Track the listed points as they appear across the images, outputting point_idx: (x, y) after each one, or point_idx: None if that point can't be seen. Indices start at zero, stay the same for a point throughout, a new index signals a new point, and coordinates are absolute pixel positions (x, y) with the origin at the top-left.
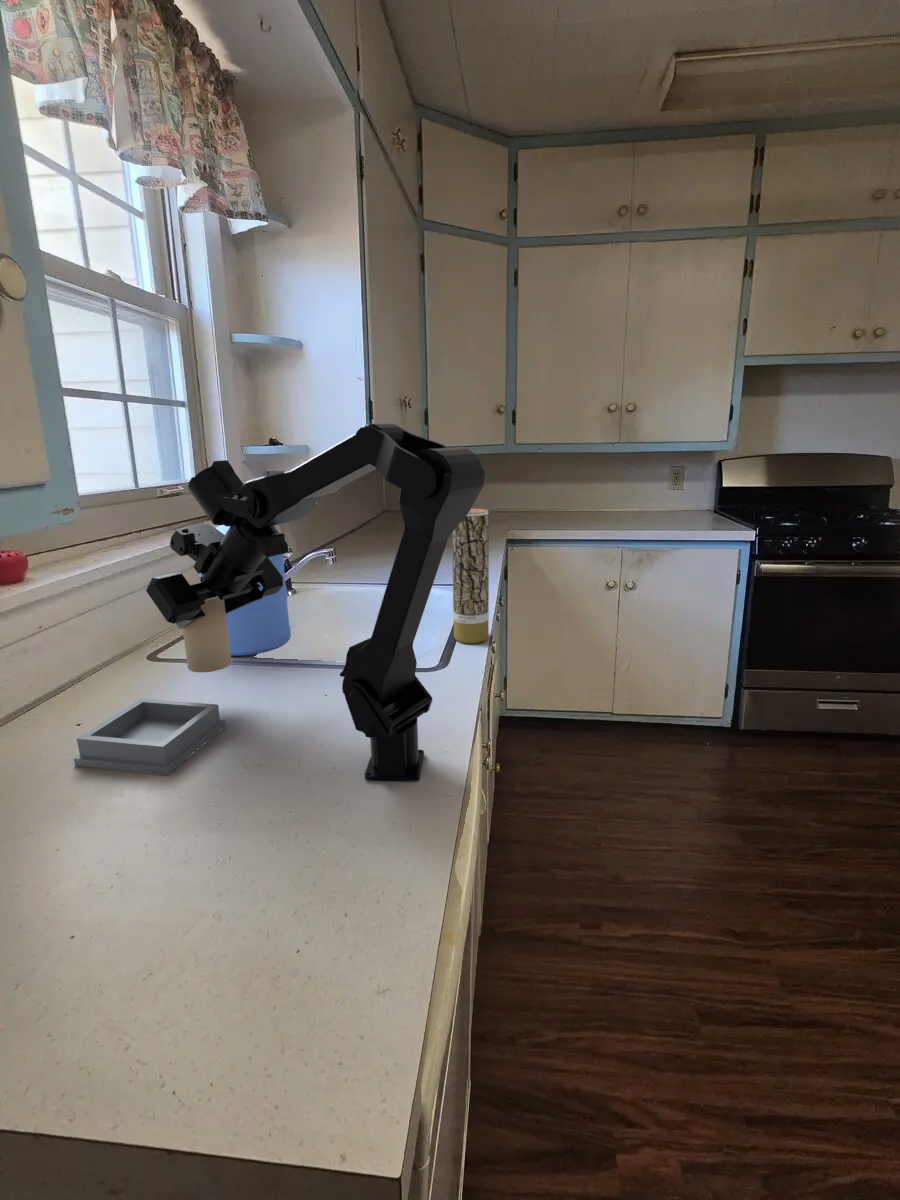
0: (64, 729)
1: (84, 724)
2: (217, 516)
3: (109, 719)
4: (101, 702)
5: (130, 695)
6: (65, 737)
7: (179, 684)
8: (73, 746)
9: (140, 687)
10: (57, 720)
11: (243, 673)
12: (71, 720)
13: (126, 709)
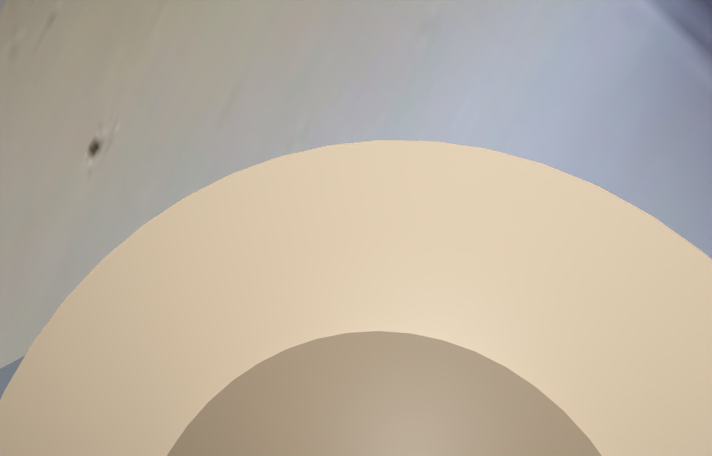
0: (58, 147)
1: (103, 158)
2: None
3: (15, 369)
4: (211, 36)
5: (292, 49)
6: (32, 204)
7: (448, 81)
8: (13, 282)
9: (346, 8)
10: (78, 71)
11: (686, 168)
12: (98, 101)
13: None
